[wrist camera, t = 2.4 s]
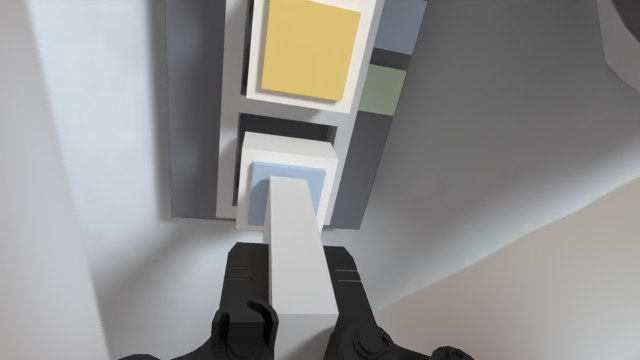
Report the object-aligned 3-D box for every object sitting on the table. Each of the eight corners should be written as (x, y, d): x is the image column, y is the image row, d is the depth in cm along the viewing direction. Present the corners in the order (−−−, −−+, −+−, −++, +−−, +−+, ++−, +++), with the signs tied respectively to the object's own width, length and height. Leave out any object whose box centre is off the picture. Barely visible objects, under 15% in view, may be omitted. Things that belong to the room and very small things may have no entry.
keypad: (171, -339, 11) (124, -508, 7) (471, -212, 13) (542, -291, 10) (179, 199, 20) (161, 237, 17) (352, 213, 23) (366, 248, 20)
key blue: (245, 131, 14) (241, 150, 12) (330, 142, 15) (340, 162, 13) (239, 205, 16) (234, 233, 14) (315, 211, 17) (321, 238, 15)
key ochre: (258, -24, 11) (256, -31, 9) (361, 1, 12) (379, -2, 10) (249, 86, 13) (245, 99, 11) (339, 101, 14) (351, 116, 12)
